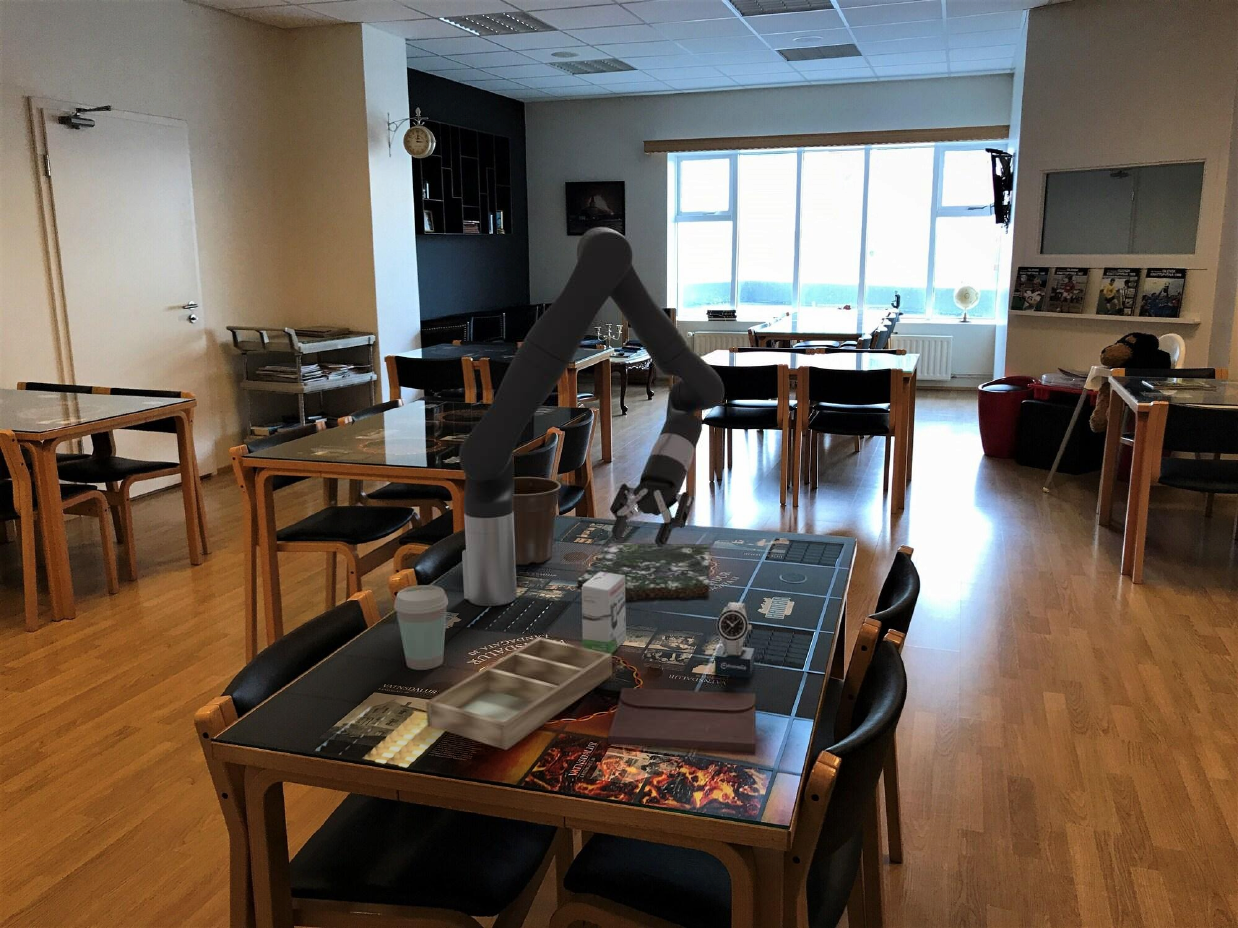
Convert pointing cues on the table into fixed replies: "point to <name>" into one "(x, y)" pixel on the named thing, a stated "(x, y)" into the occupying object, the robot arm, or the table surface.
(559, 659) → the compartment tray
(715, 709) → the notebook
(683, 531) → the table surface
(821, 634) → the table surface
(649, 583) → the topographical map
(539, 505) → the plant pot
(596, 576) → the ink box
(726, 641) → the watch
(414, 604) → the coffee cup
